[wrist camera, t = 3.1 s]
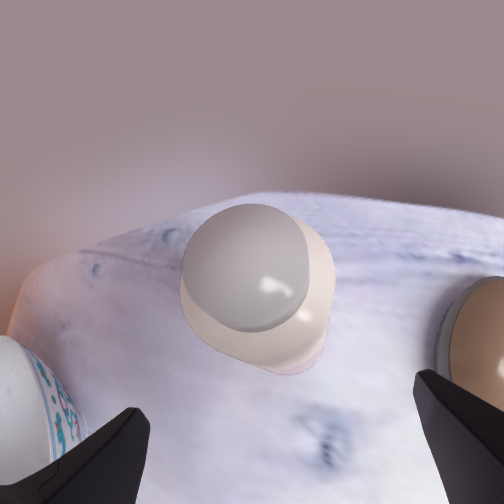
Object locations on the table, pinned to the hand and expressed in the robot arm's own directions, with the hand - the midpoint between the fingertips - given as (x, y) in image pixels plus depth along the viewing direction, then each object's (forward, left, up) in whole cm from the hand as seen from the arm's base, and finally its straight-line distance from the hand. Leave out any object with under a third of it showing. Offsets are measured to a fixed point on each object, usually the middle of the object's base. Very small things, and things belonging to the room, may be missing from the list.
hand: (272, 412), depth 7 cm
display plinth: (+14, -6, -11) cm, 19 cm away
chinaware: (-22, +5, -11) cm, 25 cm away
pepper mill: (+1, +4, -11) cm, 12 cm away
